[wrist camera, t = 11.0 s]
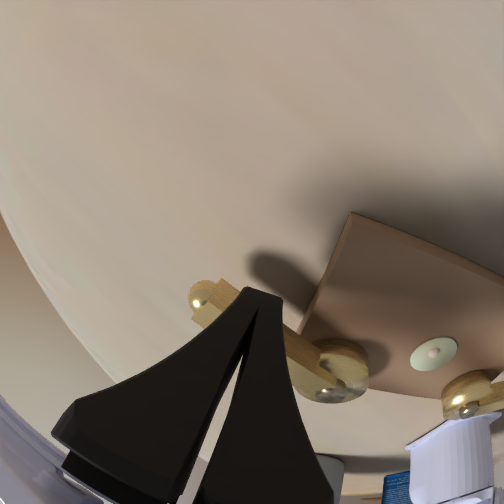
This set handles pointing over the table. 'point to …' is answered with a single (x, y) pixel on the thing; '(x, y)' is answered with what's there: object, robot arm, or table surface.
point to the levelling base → (408, 309)
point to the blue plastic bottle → (396, 489)
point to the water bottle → (332, 473)
